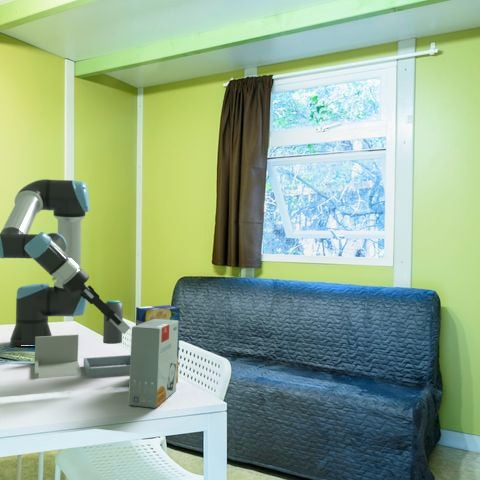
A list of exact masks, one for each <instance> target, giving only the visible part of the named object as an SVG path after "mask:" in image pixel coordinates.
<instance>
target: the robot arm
mask: <svg viewBox="0 0 480 480" xmlns="http://www.w3.org/2000/svg"><path fill="white" fill-rule="evenodd" d="M89 197H90V196H89V191H88V187H87V184H86V183H85V182H84V181H81V180H80V181H79V180H71V179H69V180H68V179H65V180H64V179H49V178H48V179H47V178H46V179H45V178H43V179H38V180H35V181H33V182H30V183H28V184H27V185H25V186H23V187H22V188H21V189H20V190H19V191H18V192H17V194H16V196H15V197H14V207H13V208H12V210H11V211H10V214H9V216H8V218H7V220H6V222H5V223H4V226H3V228H2V230H1V232H0V259H32V260H34V261H35V262H36V263H37V264H38V265H39V266H40V267H41V268H42V269H44V270H45V271H46V272H47V273H48V274H49V276H50V277H52V278H51V280H52V281H53V282H54V281H55V282H54V283H53V286H50V284H49V283H48V282H45V283H43V282H42V283H34V284H33V283H32V284H27V285H22V286H20V287H17V290H16V298H15V300H16V301H15V302H16V304H15V307H16V308H15V326H14V329H13V331H12V334H11V337H10V343H9V345H10V346H13V347H16V346H21V345H35V337H40V336H53V335H52V332H51V329H50V328H51V327H50V325H49V317H82V316H83V315H84V314H85V313H86V307H87V304H90V305H93V306H94V307H96V308H97V309H98V310H99V311H100V312H101V314H103V316H104V315H105V316H106V318H107V319H106V321H108V320H110V321H111V322H112V323H113V324H114V325H115V326H116V327H117V328H118V329H119V330H120V331H121V332H122V335H125V334H126V333H127V332H128V331H129V330H130V329H131V327H130V326H129V324H127V323H126V322H125V321H124V319H123V320H122V319H121V318H120V317H119V316H118V315H117V314H116V313H115V312H114V311H112V310H111V309H110V308H109V307H108V306H107V305H106V304H105V303H106V302H104V301H103V300H102V299H101V298H100V297H101V296H100V295H99V294H98V293H97V292H96V291H95V289H94V288H93V287H92V286H91V285H88V286H87V285H86V283H87V282H88V281H89V279H90V276H89V274H88V273H86V272H85V271H84V269H82V220H83V219H84V218H85V217H86V213H88V212H89V211H90V198H89ZM41 211H53V217H54V218H55V219H56V220H57V232H50V233H48V234H47V233H46V232H45V231H40V232H39V233H37V234H34V233H33V234H32V233H29V232H30V230H31V227H32V225H33V223H34V220H35V218H36V216H37V214H38V213H40V212H41Z"/></svg>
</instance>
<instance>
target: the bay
mask: <svg viewBox="0 0 480 480" xmlns="http://www.w3.org/2000/svg"><path fill="white" fill-rule="evenodd" d="M78 355H79V334H63V335H62V334H60V335H52V336H40V337H35V347H34V380H35V379H46V378H59V377H60V378H61V377H71V376H73V377H74V376H83V373H82V369H81V367H80V364H79V360H78V359H79V356H78Z"/></svg>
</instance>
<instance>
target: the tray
mask: <svg viewBox="0 0 480 480" xmlns="http://www.w3.org/2000/svg"><path fill="white" fill-rule="evenodd" d="M130 359H131V354H127V355H125V354H123V355H111V356H97V357H84V358H83V368H84V371H85V373H86V376H87V378H88V379H91V378H93V379H94V378H104V377H114V376H126V375H130ZM114 365H115V366H114ZM99 366H100V367H99Z"/></svg>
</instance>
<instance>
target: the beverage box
mask: <svg viewBox="0 0 480 480" xmlns="http://www.w3.org/2000/svg"><path fill="white" fill-rule="evenodd" d="M135 307H136V309H135V311H136V312H135V326H136V325H139V324H142V323H145V322H147V321H150V320H153V319H165V320H178V346H177V374H176V383H178V382H179V359H180V358H179V357H180V356H179V355H180V352H179V351H180V319H181V318H180V317H181V313H180V312H181V311H180V310H181V308H180V307H178V306H173V305H171V304H168V305H167V304H166V305H152V306H151V305H150V306H135Z"/></svg>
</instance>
